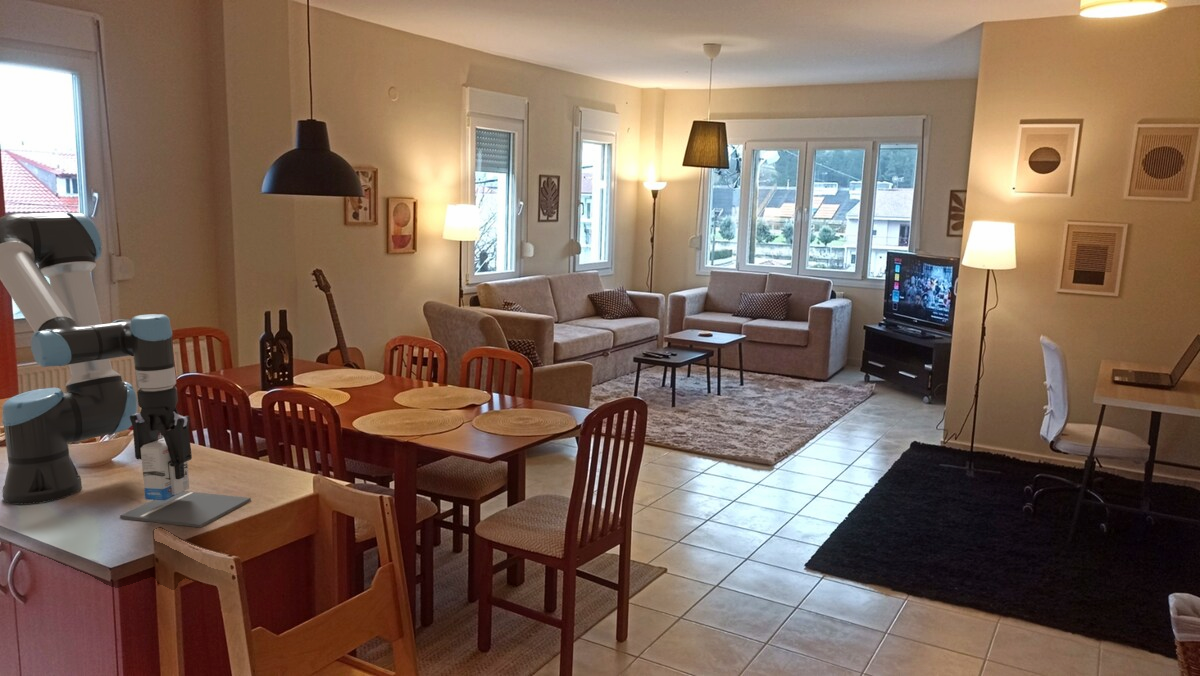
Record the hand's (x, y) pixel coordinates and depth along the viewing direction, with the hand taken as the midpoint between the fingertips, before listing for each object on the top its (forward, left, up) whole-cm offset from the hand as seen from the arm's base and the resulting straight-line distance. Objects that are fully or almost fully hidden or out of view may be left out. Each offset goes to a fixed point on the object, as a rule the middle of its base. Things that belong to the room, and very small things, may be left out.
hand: (166, 491), depth 186 cm
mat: (+5, 0, -4) cm, 6 cm away
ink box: (0, 0, -1) cm, 1 cm away
